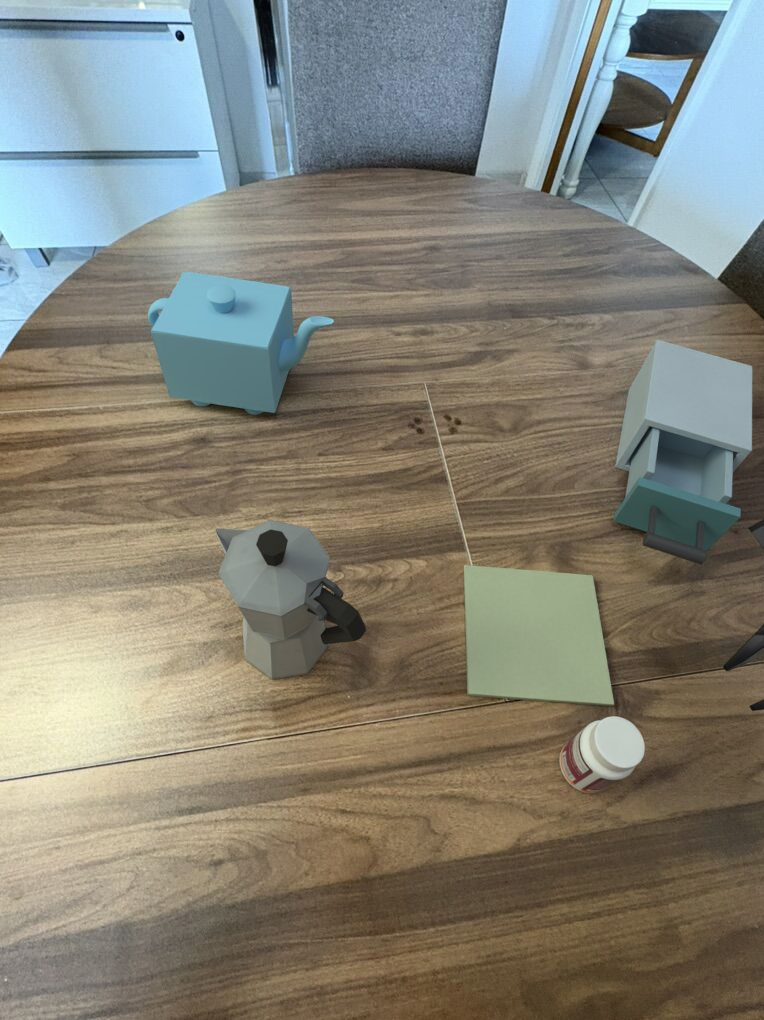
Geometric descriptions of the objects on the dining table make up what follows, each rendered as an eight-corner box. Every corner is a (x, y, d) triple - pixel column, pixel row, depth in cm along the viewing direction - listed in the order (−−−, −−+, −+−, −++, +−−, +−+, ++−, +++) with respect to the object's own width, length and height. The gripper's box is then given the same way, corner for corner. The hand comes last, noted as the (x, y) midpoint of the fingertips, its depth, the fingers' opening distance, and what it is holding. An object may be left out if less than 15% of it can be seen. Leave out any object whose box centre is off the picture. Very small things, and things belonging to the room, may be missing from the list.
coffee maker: (205, 636, 60) (165, 538, 45) (263, 572, 64) (245, 463, 49) (328, 726, 56) (329, 650, 41) (382, 650, 60) (400, 558, 45)
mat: (591, 577, 67) (592, 575, 66) (612, 706, 59) (614, 704, 58) (463, 567, 66) (464, 564, 66) (467, 695, 58) (468, 693, 58)
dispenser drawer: (704, 590, 66) (740, 558, 60) (606, 558, 67) (632, 523, 62) (711, 464, 76) (742, 426, 71) (627, 438, 78) (650, 399, 72)
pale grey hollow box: (711, 497, 74) (752, 450, 67) (614, 467, 76) (645, 418, 69) (715, 415, 83) (752, 365, 75) (628, 390, 84) (656, 339, 77)
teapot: (150, 403, 76) (120, 311, 65) (179, 345, 83) (156, 252, 71) (324, 430, 76) (324, 342, 65) (340, 369, 82) (342, 279, 71)
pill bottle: (617, 756, 56) (657, 731, 49) (600, 805, 54) (640, 785, 47) (568, 728, 57) (601, 699, 50) (550, 774, 55) (582, 751, 48)
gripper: (858, 436, 39) (638, 566, 45) (1145, 723, 29) (813, 837, 35) (863, 484, 47) (677, 588, 53) (1087, 719, 37) (827, 812, 44)
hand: (738, 688), depth 46 cm, fingers open, 3 cm apart
